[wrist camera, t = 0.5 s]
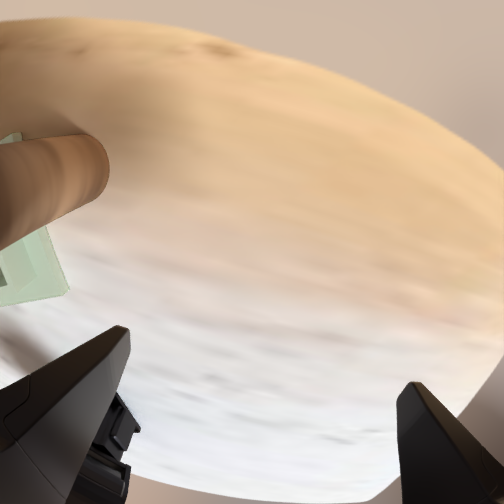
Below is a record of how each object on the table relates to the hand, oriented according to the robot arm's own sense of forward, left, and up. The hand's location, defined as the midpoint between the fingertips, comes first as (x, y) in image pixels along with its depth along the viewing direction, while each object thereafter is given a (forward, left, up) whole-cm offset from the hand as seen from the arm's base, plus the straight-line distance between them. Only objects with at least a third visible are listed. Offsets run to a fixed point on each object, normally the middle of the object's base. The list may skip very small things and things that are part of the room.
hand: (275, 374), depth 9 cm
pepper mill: (-12, +8, -14) cm, 20 cm away
